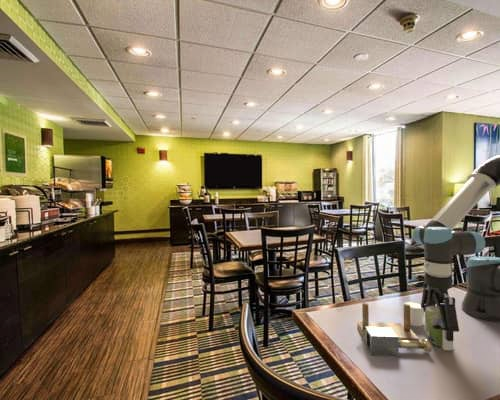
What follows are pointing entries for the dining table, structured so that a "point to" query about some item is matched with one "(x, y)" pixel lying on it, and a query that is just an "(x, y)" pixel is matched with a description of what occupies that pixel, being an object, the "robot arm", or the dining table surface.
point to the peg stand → (389, 324)
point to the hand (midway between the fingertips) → (438, 339)
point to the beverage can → (434, 324)
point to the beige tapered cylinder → (416, 313)
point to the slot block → (381, 341)
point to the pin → (415, 344)
